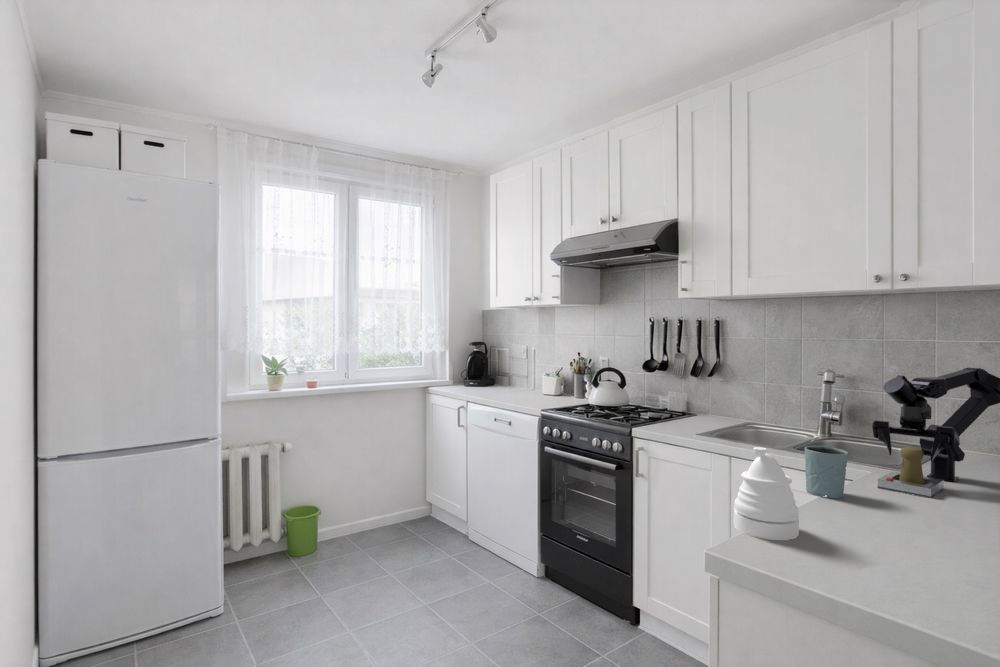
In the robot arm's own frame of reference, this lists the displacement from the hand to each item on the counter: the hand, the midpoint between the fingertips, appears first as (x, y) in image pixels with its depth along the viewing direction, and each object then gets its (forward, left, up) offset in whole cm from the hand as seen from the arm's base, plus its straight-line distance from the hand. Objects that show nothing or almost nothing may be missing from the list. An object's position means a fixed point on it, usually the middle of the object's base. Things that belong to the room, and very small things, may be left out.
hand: (910, 457), depth 151 cm
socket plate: (-1, 0, -9) cm, 9 cm away
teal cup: (+24, -13, -9) cm, 29 cm away
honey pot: (+64, -11, -9) cm, 65 cm away
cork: (-1, 0, -9) cm, 9 cm away
